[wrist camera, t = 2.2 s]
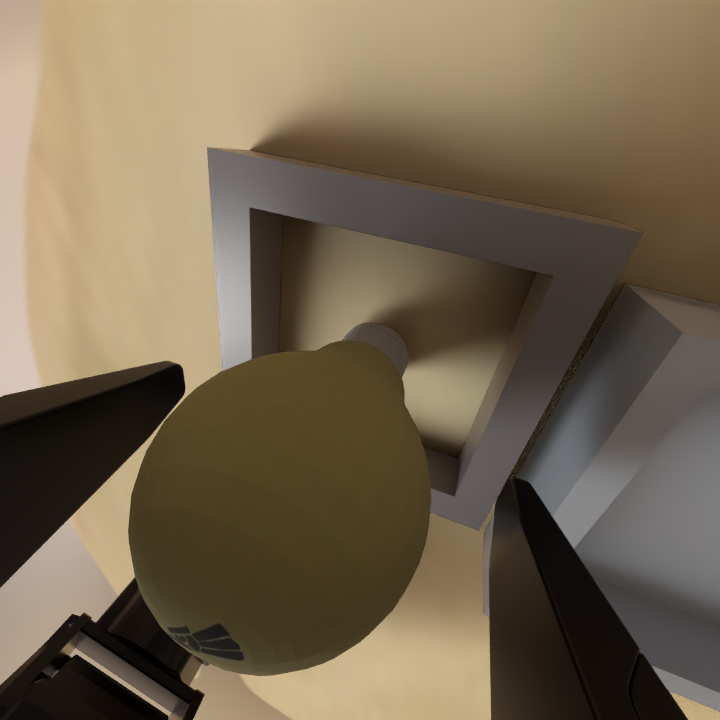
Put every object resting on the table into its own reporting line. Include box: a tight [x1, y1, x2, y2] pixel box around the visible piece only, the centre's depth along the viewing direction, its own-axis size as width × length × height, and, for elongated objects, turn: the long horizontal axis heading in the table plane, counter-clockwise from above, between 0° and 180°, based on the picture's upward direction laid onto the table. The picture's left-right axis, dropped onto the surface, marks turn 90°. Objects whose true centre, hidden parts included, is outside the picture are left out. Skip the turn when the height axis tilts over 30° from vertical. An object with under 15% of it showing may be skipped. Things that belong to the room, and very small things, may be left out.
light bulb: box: [128, 322, 431, 676], centre depth 9 cm, size 6×6×10 cm
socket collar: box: [207, 147, 643, 531], centre depth 12 cm, size 11×11×2 cm
